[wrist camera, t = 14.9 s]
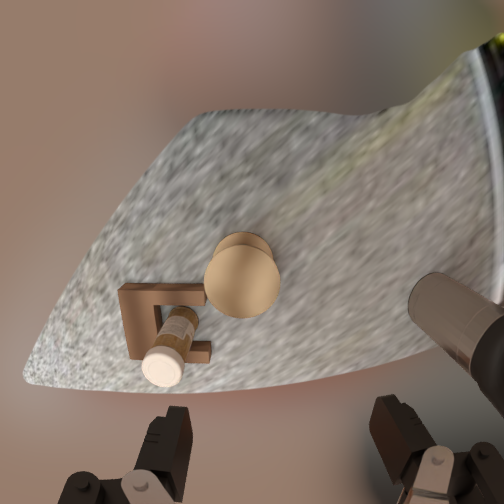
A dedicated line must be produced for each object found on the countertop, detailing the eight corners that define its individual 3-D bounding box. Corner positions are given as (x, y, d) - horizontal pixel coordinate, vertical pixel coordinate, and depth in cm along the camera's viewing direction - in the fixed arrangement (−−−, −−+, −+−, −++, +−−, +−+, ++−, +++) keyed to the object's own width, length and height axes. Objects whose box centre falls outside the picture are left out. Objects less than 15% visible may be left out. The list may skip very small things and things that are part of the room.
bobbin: (273, 231, 40) (280, 245, 31) (272, 289, 42) (279, 317, 33) (211, 232, 40) (202, 246, 31) (214, 290, 42) (206, 318, 33)
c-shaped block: (206, 283, 41) (203, 291, 38) (211, 352, 44) (209, 363, 41) (125, 283, 41) (117, 290, 38) (136, 349, 44) (130, 359, 41)
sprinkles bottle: (193, 337, 43) (176, 394, 30) (164, 326, 43) (137, 379, 30) (203, 311, 42) (186, 363, 29) (172, 300, 42) (144, 348, 29)
